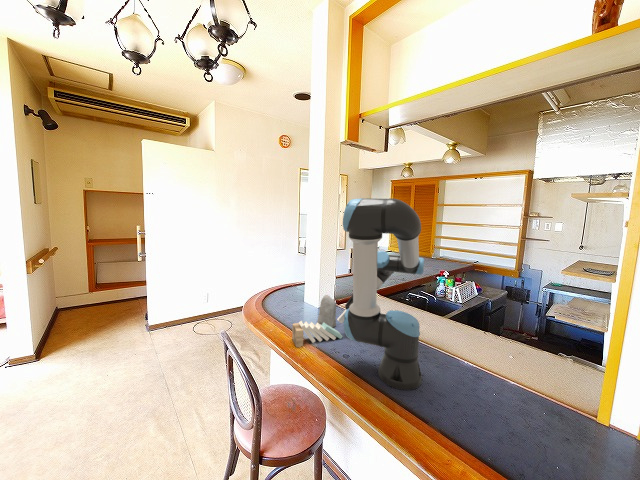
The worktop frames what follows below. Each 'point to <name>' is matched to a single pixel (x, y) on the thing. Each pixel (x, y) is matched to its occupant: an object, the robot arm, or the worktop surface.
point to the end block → (297, 334)
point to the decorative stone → (327, 311)
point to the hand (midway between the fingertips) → (339, 321)
